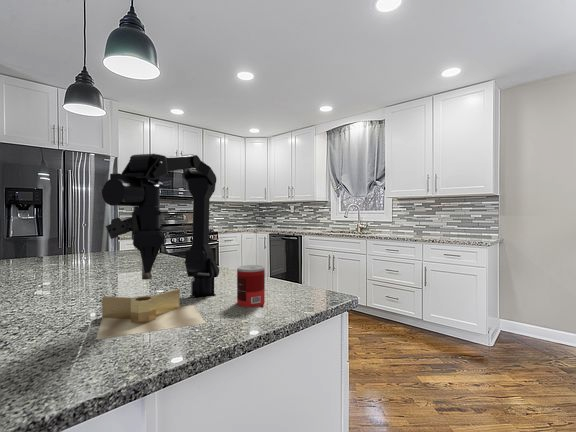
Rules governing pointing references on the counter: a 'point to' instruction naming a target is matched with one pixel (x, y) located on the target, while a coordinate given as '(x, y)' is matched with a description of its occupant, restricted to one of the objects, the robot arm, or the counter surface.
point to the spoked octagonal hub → (140, 306)
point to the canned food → (251, 286)
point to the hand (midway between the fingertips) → (146, 271)
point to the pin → (146, 274)
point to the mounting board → (150, 323)
